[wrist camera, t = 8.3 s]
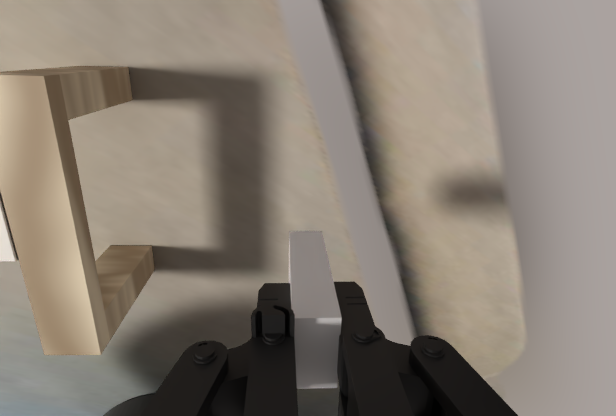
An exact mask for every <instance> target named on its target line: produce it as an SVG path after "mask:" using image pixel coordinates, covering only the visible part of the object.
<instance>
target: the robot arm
mask: <svg viewBox="0 0 616 416" xmlns="http://www.w3.org/2000/svg"><path fill="white" fill-rule="evenodd" d="M251 326H252V338H251V339H250V340H249V341H248V342H247V343H245V344H243V345H241V346H239V347H236V348H232V349H228V350H227V348H226V347H225V346H224V345H223V344H222V343H219V342H216V341H202V342H198V343H196V344H194V345H192V346H190V347H189V348H188V349H187V350H186V351H185V352H184V353H183V354H182V356H181V357H180V358H179V360H178V361H177V363H176V364H175V366H174V367H173V369H172V370H171V372H170V373H169V374H168V376H167V377H166V379H165V380H164V382H163V383H162V385H161V386H160V387H159V389H158V390H157V392H156V393H155V394H154V395H146V396H141V397H137V398H134V399H131V400H128V401H125V402H123V403H121V404H119V405H117V406H115V407H114V408H112V409H111V410H109V411H108V412H107V413H106V414H105V415H103V416H298V405H297V389H312V388H337V385H338V380H339V386H340V392H339V407H338V416H518V415H517V414H516V413H515V412H514V411H513V410H512V409H511V408H510V407H509V406H508V405H507V404H506V402H505V401H504V400H503V399H502V398H501V397H500V396H499V395H498V394H497V393H496V392H495V391H494V390H493V389H492V388H491V387H490V386H489V385H488V383H487V382H486V381H485V380H484V379H483V378H482V377H481V376H480V375H479V374H478V373H477V372H476V371H475V370H474V369H473V368H472V367H471V366H470V364H469V363H468V362H467V361H466V360H465V359H464V358H463V357H462V356H461V355H460V354H459V353H458V352H457V351H456V350H455V349H454V348H453V347H452V346H451V345H450V344H449V343H448V342H446V341H445V340H443V339H440V338H438V337H434V336H429V335H427V336H419V337H416V338H414V340H413V341H412V342H411V346H408V345H403V344H398V343H395V342H392V341H389V340H387V339H386V338H385V335H384V334H383V332H382V331H381V330H380V329H378V328H377V327H376V326H375V325H374V322H373V319H372V316H371V313H370V310H369V307H368V305H367V301H366V298H365V296H364V293H363V290H362V288H361V287H360V286H359V285H358V284H356V283H355V282H333V277H332V273H331V268H330V264H329V260H328V255H327V251H326V247H325V242H324V238H323V233H322V231H289V283H265V284H264V285H263V286H262V288H261V289H260V290H259V293H258V303H257V308H256V309H255V310H254V311H253V313H252V315H251Z"/></svg>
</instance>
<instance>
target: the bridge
mask: <svg viewBox="0 0 616 416" xmlns="http://www.w3.org/2000/svg"><path fill="white" fill-rule="evenodd" d="M131 100H133V99H132V91H131V84H130V76H129V69H128V67H99V66H73V67H60V68H46V69H33V70H19V71H6V72H0V192H1V195H2V199H3V203H4V207H5V210H6V214H7V218H8V221H9V225H10V229H11V233H12V236H13V240H14V244H15V247H16V251H17V255H18V258H19V262H20V266H21V270H22V273H23V277H24V281H25V284H26V288H27V292H28V296H29V299H30V303H31V307H32V310H33V314H34V318H35V322H36V325H37V329H38V333H39V336H40V340H41V344H42V348H43V351H44V355H101V354H102V352H103V351H104V349H105V347H106V346H107V344H108V343H109V341H110V340H111V338H112V336H113V335H114V333H115V332H116V330H117V328H118V327H119V325H120V324H121V322H122V321H123V319H124V317H125V316H126V314H127V313H128V311H129V309H130V308H131V306H132V305H133V303H134V302H135V300H136V298H137V297H138V295H139V294H140V292H141V290H142V289H143V287H144V286H145V284H146V283H147V281H148V279H149V278H150V276H151V275H152V273H153V271H154V270H155V267H154V259H153V252H152V246H113V245H110V247H109V248H108V249H107V250H106V251H105V252H104V253H103V254H102V255H101V256H100V257H99V258H98V259H97V260H96V261H95V258H94V253H93V248H92V243H91V237H90V232H89V227H88V222H87V216H86V211H85V206H84V201H83V195H82V190H81V185H80V180H79V175H78V169H77V164H76V159H75V154H74V148H73V143H72V138H71V133H70V128H69V122H68V120H70V119H73V118H76V117H80V116H83V115H86V114H89V113H92V112H96V111H99V110H102V109H105V108H108V107H112V106H115V105H118V104H121V103H125V102H128V101H131Z"/></svg>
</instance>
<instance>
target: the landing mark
mask: <svg viewBox="0 0 616 416" xmlns="http://www.w3.org/2000/svg"><path fill="white" fill-rule="evenodd" d="M16 260H17V258H16V255H15V251H14V247H13V244H12V240H11V236H10V232H9V229H8V225H7V221H6V218H5V214H4V210H3V207H2V203H1V199H0V261H16Z"/></svg>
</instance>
